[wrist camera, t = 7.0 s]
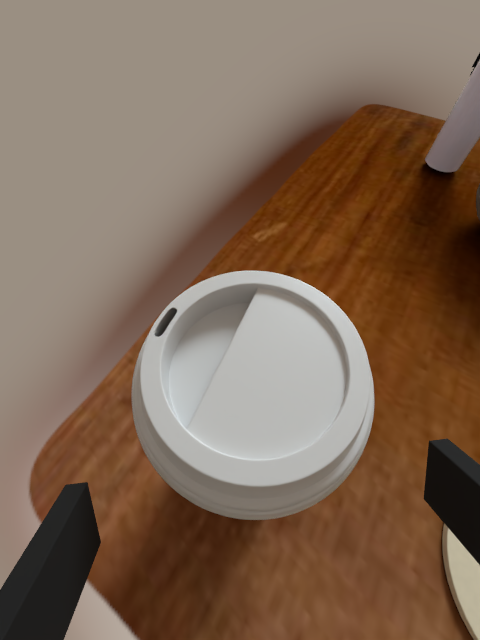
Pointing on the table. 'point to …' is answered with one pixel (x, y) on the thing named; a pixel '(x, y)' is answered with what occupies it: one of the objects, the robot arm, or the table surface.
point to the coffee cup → (253, 395)
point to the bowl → (478, 202)
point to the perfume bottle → (459, 128)
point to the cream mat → (462, 580)
